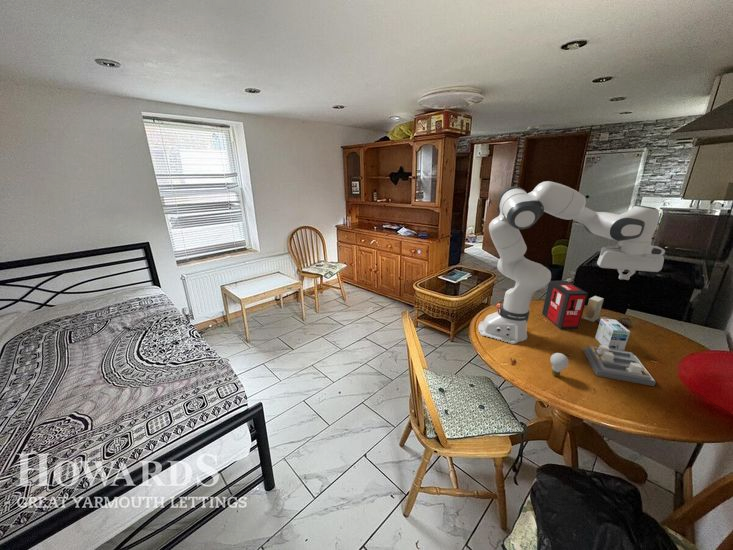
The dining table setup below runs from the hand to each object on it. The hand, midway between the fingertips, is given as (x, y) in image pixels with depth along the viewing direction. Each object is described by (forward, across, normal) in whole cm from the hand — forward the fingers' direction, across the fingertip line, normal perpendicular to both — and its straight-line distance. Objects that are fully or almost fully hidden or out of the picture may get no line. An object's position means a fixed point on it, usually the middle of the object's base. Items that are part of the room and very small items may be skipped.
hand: (623, 279), depth 119 cm
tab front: (+31, +4, -20) cm, 37 cm away
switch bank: (+33, 0, -16) cm, 37 cm away
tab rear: (+31, -4, -10) cm, 33 cm away
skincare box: (+33, +3, +27) cm, 43 cm away
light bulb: (+33, -24, -29) cm, 50 cm away
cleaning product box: (+33, -13, +19) cm, 41 cm away
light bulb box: (+33, +3, +2) cm, 34 cm away
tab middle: (+31, -4, -16) cm, 35 cm away
